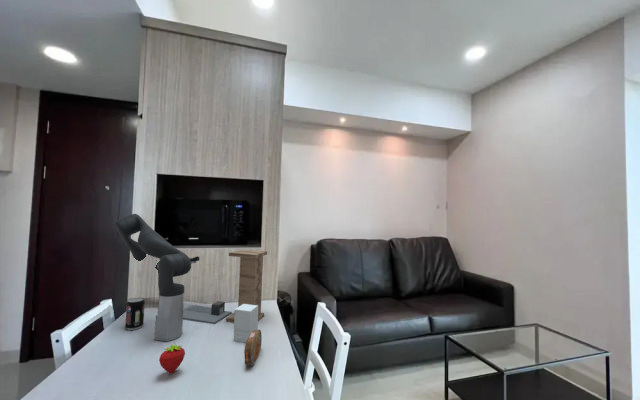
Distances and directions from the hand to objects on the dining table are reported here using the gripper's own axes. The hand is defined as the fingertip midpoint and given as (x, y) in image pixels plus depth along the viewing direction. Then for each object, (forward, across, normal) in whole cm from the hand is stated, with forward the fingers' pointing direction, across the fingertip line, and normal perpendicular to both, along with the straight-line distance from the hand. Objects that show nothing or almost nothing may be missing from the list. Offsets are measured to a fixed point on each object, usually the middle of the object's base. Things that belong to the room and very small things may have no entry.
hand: (192, 257), depth 143 cm
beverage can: (-13, -20, +29) cm, 37 cm away
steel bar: (0, +5, +26) cm, 27 cm away
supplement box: (+34, -7, +40) cm, 53 cm away
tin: (+45, -18, +46) cm, 67 cm away
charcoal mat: (+3, +3, +29) cm, 29 cm away
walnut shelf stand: (+23, +9, +34) cm, 42 cm away
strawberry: (+28, -36, +44) cm, 64 cm away
